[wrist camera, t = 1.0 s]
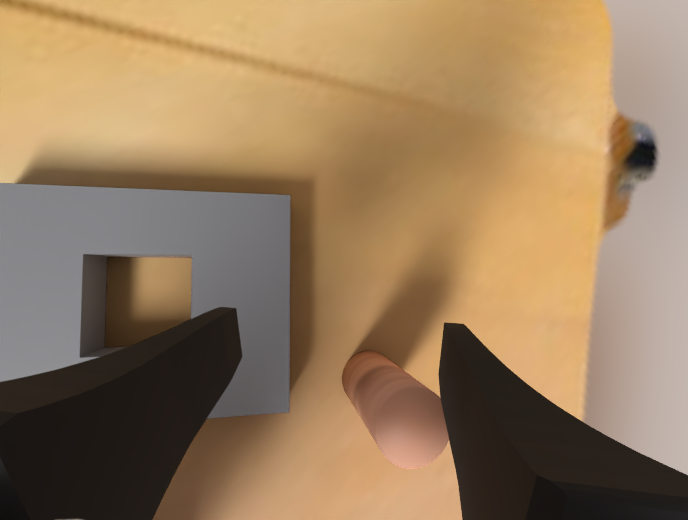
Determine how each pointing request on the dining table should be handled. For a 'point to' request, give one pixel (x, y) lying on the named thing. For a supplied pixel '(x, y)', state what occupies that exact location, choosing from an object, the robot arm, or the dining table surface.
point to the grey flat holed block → (144, 241)
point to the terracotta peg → (396, 410)
